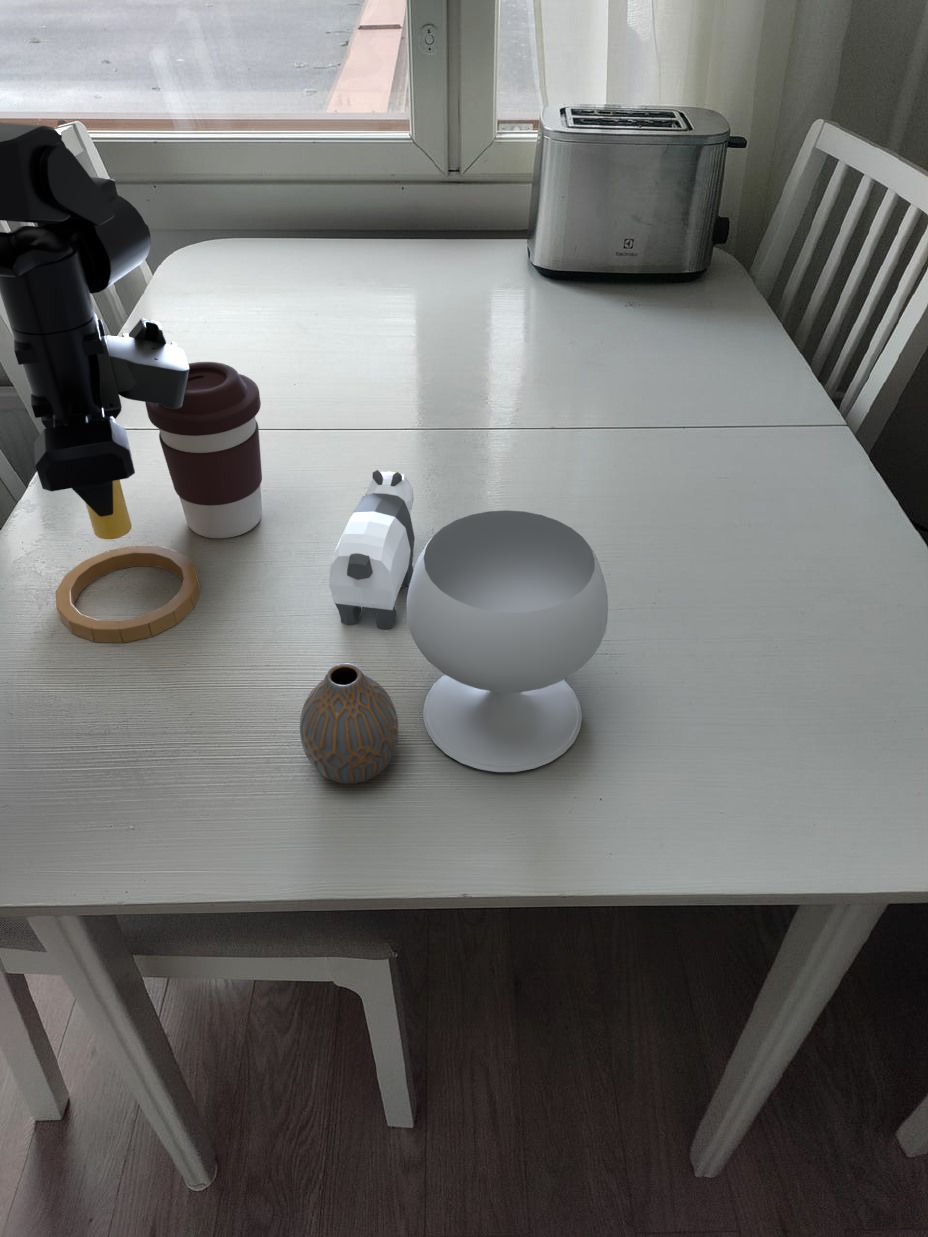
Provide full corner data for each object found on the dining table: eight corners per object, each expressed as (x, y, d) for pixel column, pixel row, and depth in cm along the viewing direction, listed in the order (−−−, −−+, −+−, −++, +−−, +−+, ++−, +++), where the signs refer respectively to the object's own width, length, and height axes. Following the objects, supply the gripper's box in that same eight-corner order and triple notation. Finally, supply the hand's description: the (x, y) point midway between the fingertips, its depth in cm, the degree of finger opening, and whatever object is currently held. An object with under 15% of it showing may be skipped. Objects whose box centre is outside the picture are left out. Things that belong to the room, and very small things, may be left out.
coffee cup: (266, 550, 90) (243, 404, 80) (161, 547, 90) (126, 402, 80) (284, 492, 97) (265, 353, 88) (187, 490, 98) (158, 351, 88)
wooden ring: (140, 658, 78) (136, 645, 77) (30, 619, 82) (25, 605, 81) (226, 578, 86) (223, 565, 86) (122, 546, 90) (118, 533, 89)
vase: (355, 815, 66) (346, 727, 60) (285, 768, 69) (270, 681, 64) (419, 756, 70) (416, 668, 65) (350, 714, 74) (341, 627, 68)
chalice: (546, 637, 80) (558, 485, 71) (626, 755, 71) (653, 596, 61) (387, 678, 77) (377, 523, 67) (448, 808, 67) (447, 648, 57)
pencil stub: (115, 543, 78) (87, 445, 72) (86, 534, 79) (57, 437, 73) (139, 524, 80) (114, 428, 74) (111, 515, 81) (84, 420, 75)
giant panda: (394, 639, 80) (389, 546, 74) (330, 631, 81) (319, 539, 75) (429, 539, 91) (427, 451, 85) (373, 533, 92) (367, 446, 86)
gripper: (186, 355, 63) (223, 548, 73) (154, 260, 76) (189, 434, 86) (6, 381, 60) (70, 578, 70) (6, 277, 73) (60, 455, 84)
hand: (104, 504), depth 78 cm, fingers closed on pencil stub, 3 cm apart
